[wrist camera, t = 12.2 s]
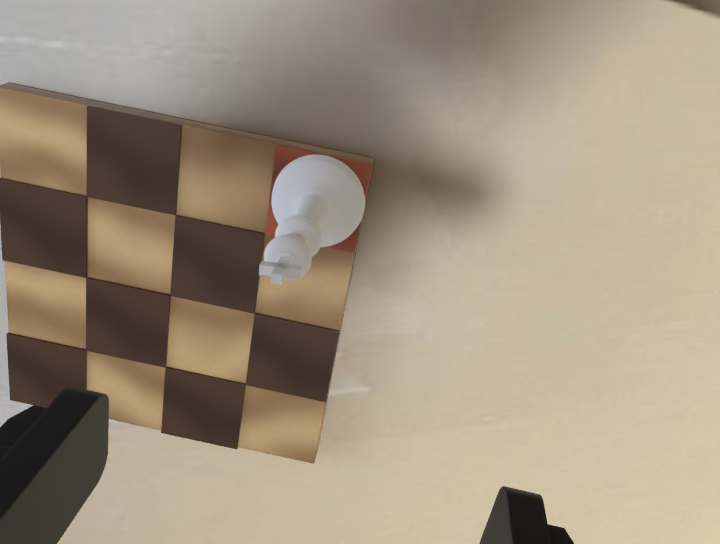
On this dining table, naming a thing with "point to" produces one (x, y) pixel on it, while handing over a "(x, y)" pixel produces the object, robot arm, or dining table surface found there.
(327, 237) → the chess piece
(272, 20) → the dining table surface
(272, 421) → the game board
